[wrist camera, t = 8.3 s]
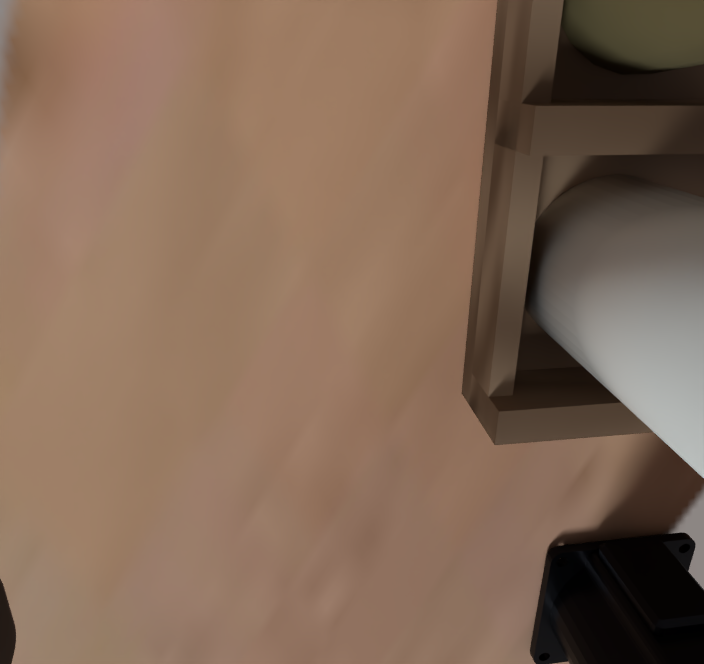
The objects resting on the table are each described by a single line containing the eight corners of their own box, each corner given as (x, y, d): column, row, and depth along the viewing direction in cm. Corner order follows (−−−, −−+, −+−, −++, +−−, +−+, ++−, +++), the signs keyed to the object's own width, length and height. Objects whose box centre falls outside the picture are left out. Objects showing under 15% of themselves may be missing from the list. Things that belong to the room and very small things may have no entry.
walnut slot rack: (666, 378, 24) (728, 425, 21) (461, 393, 22) (494, 445, 19) (821, -265, 16) (953, -338, 13) (524, -293, 15) (594, -381, 12)
